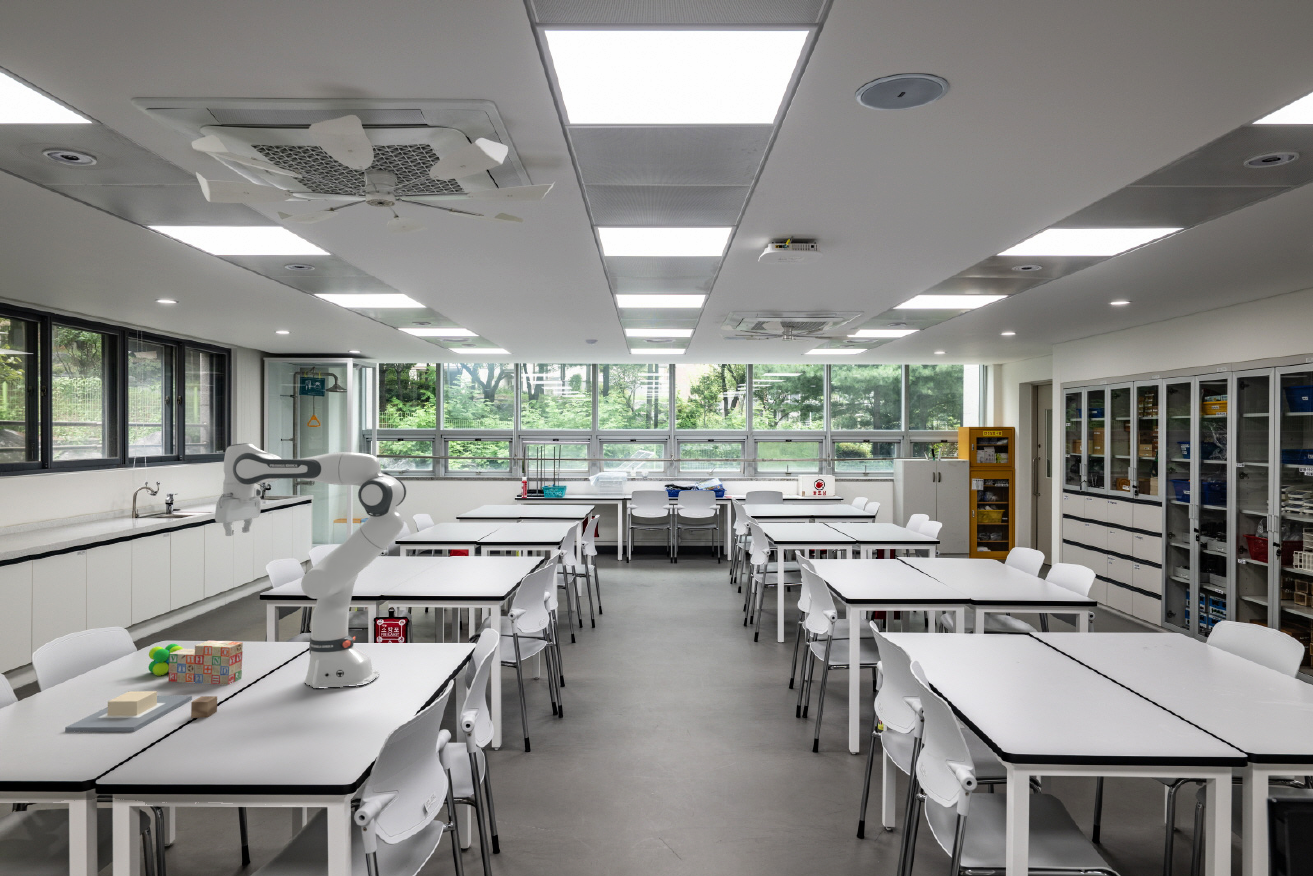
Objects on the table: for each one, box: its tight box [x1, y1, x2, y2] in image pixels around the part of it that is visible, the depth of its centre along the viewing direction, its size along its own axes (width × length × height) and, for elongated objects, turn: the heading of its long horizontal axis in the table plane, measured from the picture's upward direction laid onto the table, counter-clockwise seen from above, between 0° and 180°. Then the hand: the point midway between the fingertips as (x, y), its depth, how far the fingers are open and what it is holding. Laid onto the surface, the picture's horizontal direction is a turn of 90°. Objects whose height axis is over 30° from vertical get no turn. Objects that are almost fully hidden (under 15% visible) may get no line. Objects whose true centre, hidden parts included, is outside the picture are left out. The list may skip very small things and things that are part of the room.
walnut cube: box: [190, 695, 218, 719], centre depth 196 cm, size 4×4×4 cm
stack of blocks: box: [168, 640, 244, 686], centre depth 225 cm, size 21×6×12 cm, turn 84°
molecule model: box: [148, 643, 184, 677], centre depth 232 cm, size 9×9×9 cm
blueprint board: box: [64, 690, 193, 733], centre depth 195 cm, size 18×24×5 cm
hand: (237, 534), depth 226 cm, fingers open, 8 cm apart
